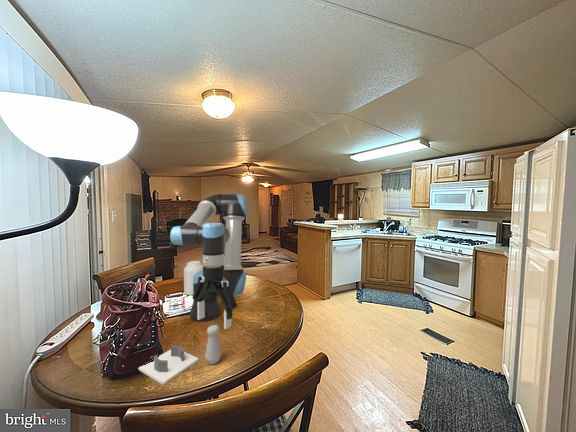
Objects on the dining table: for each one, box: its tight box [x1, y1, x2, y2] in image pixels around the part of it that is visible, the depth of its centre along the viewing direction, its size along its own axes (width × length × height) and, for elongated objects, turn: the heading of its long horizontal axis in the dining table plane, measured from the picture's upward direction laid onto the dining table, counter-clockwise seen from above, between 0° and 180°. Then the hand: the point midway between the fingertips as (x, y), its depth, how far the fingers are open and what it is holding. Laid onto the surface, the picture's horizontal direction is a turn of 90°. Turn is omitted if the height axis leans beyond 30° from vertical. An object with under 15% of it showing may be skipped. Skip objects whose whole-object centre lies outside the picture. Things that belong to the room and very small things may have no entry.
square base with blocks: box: [137, 345, 199, 386], centre depth 86 cm, size 14×14×4 cm
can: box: [183, 260, 204, 296], centre depth 158 cm, size 12×12×20 cm
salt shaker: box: [204, 324, 222, 366], centre depth 89 cm, size 6×6×13 cm
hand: (213, 322), depth 88 cm, fingers open, 13 cm apart
